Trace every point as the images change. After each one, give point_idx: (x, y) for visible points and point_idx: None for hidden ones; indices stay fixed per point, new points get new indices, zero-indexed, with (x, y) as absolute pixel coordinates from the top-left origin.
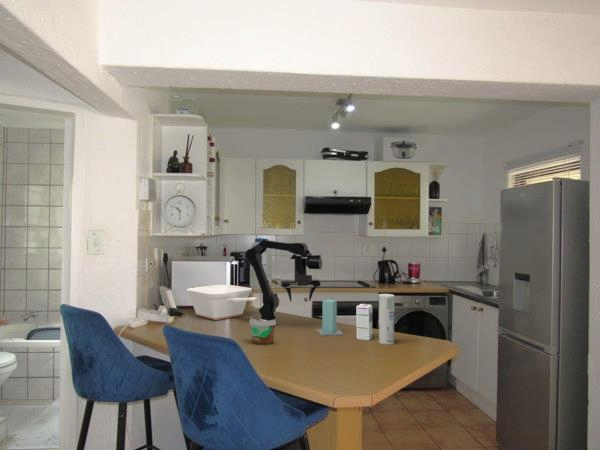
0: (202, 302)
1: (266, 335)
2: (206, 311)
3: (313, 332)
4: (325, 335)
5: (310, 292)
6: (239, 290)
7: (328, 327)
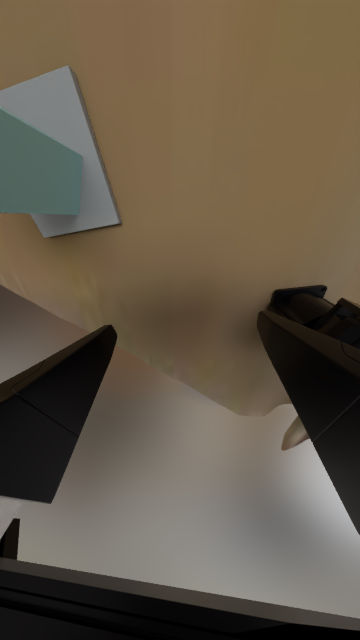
0: None
1: None
2: None
3: (131, 186)
4: (52, 78)
5: (46, 377)
6: None
7: (23, 120)
